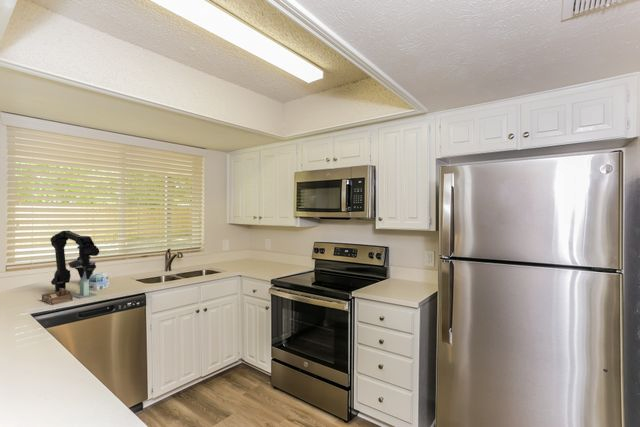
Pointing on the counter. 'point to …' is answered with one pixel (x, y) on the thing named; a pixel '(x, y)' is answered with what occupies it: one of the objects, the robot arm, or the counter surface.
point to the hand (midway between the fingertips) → (84, 278)
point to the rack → (58, 296)
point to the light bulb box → (99, 281)
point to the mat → (84, 296)
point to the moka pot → (85, 273)
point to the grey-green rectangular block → (84, 287)
